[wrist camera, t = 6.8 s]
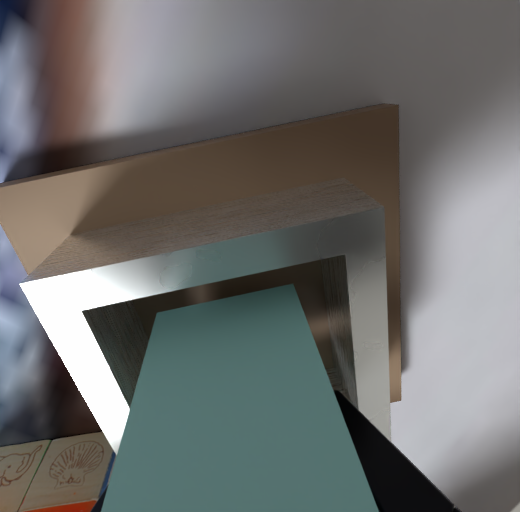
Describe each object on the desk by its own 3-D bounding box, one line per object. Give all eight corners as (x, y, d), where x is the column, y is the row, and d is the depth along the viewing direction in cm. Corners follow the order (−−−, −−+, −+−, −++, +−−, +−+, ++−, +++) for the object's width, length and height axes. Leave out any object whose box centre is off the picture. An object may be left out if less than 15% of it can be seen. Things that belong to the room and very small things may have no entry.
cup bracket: (359, 379, 15) (391, 445, 12) (156, 423, 14) (142, 500, 12) (343, 177, 11) (384, 206, 8) (69, 234, 11) (19, 284, 8)
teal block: (310, 384, 12) (445, 829, 5) (193, 409, 12) (154, 898, 5) (293, 283, 10) (467, 747, 3) (156, 312, 10) (4, 856, 3)
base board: (391, 383, 16) (401, 400, 15) (134, 439, 16) (129, 459, 15) (384, 103, 11) (398, 104, 10) (2, 182, 11) (-18, 191, 10)
